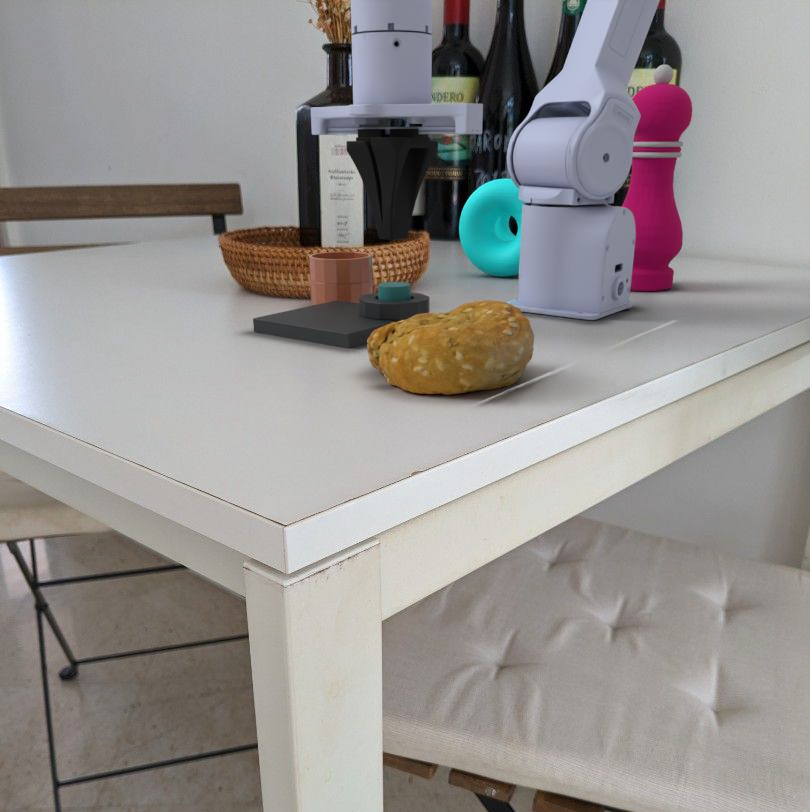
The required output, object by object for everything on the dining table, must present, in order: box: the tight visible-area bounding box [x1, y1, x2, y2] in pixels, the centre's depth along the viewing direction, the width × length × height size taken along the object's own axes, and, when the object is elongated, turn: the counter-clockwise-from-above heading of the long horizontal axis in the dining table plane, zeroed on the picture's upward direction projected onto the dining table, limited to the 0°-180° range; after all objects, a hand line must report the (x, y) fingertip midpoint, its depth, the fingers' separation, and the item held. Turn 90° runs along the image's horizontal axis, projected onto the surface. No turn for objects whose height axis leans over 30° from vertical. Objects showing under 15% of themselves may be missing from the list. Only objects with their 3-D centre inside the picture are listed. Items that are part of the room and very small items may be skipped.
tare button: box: [377, 281, 412, 301], centre depth 68 cm, size 3×3×1 cm
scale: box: [252, 291, 430, 350], centre depth 68 cm, size 11×11×2 cm
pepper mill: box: [621, 64, 693, 292], centre depth 84 cm, size 7×7×20 cm
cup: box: [308, 251, 374, 306], centre depth 78 cm, size 6×6×4 cm
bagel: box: [366, 299, 535, 396], centre depth 54 cm, size 10×11×5 cm
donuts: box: [458, 177, 526, 278], centre depth 95 cm, size 10×10×10 cm
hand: (393, 238), depth 66 cm, fingers closed
